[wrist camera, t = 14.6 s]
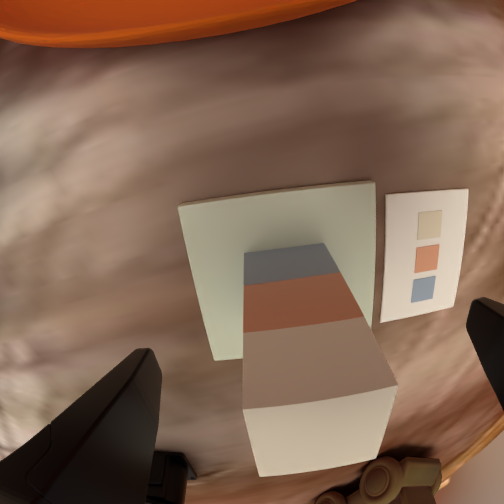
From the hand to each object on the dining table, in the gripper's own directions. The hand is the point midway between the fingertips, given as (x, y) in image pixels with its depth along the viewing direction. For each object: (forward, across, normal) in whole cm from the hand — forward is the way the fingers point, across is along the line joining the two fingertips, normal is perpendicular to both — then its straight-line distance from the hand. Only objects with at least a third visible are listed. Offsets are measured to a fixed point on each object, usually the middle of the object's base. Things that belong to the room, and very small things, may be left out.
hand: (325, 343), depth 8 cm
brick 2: (+4, 0, +5) cm, 7 cm away
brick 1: (+8, 0, +5) cm, 10 cm away
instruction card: (+13, -10, +5) cm, 17 cm away
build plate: (+13, 0, +5) cm, 14 cm away
